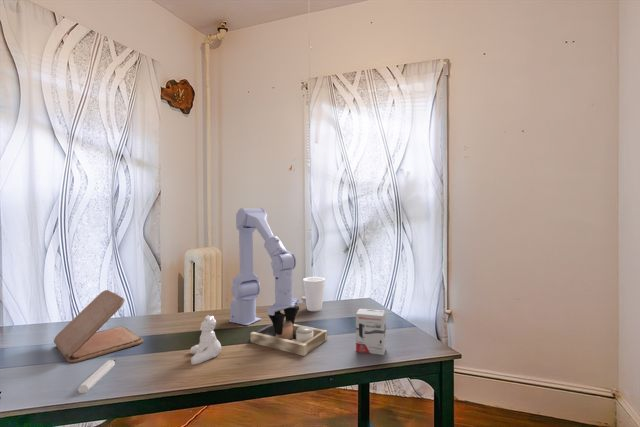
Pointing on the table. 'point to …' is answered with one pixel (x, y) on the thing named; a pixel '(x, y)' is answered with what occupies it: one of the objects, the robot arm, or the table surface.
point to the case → (83, 338)
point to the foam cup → (314, 292)
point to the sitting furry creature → (206, 342)
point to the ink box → (371, 331)
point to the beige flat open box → (290, 345)
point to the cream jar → (304, 334)
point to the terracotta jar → (286, 330)
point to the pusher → (267, 330)
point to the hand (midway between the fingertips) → (284, 331)
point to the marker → (96, 376)
